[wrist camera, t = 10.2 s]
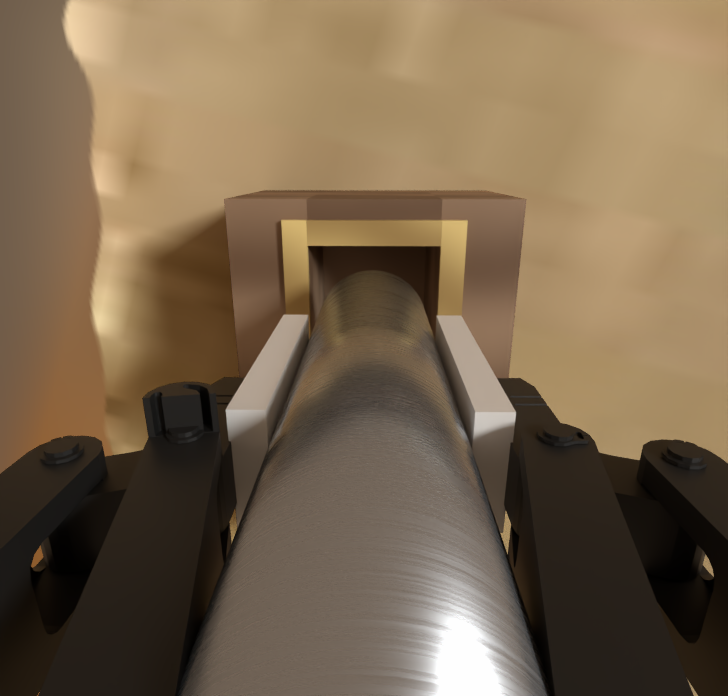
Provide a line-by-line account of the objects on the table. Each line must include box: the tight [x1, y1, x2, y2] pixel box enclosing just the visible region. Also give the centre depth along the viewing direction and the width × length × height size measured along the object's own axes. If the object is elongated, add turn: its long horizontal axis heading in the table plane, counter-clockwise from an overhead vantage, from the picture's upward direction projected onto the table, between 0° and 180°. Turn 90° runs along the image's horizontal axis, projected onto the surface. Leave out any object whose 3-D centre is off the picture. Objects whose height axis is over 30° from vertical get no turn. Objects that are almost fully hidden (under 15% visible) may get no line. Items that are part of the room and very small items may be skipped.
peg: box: [178, 270, 552, 696], centre depth 12 cm, size 4×4×16 cm
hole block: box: [224, 191, 526, 378], centre depth 27 cm, size 18×12×8 cm, turn 0°
